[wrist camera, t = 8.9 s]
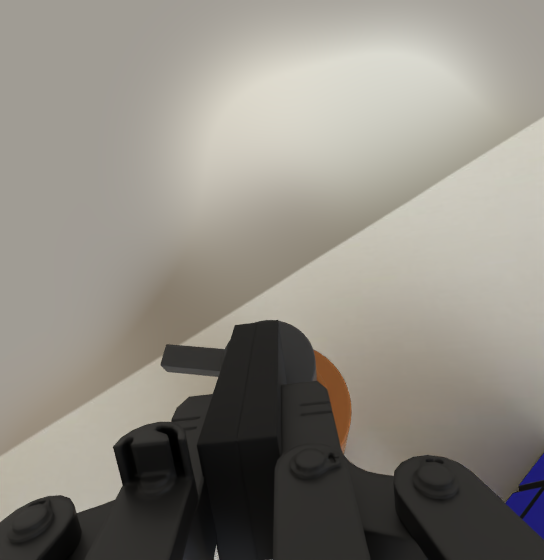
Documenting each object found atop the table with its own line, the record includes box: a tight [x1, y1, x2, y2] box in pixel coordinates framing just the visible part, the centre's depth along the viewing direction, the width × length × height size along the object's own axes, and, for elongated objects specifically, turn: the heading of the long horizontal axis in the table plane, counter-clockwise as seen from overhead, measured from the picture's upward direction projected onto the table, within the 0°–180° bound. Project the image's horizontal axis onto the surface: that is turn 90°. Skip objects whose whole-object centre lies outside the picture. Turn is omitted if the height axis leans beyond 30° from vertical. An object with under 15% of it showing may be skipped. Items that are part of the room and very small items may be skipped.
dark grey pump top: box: [161, 320, 317, 384], centre depth 17 cm, size 6×4×4 cm, turn 82°
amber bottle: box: [314, 350, 351, 454], centre depth 24 cm, size 7×7×14 cm
